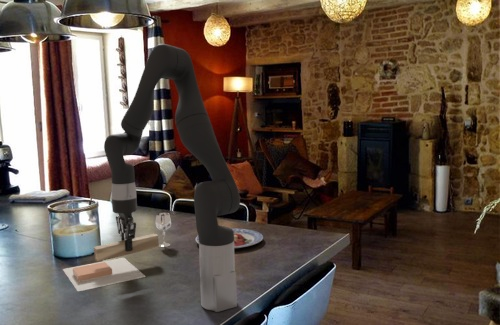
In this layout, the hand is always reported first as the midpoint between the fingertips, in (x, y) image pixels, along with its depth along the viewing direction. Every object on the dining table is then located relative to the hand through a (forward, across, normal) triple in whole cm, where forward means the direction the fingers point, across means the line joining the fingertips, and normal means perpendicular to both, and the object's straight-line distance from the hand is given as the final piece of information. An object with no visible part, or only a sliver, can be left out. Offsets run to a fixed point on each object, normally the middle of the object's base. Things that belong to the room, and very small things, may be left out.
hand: (127, 249), depth 152 cm
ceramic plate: (+8, +8, -42) cm, 43 cm away
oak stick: (+1, 0, 0) cm, 1 cm away
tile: (+5, 0, +6) cm, 8 cm away
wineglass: (+7, +19, -20) cm, 29 cm away
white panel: (+7, 0, +8) cm, 11 cm away
